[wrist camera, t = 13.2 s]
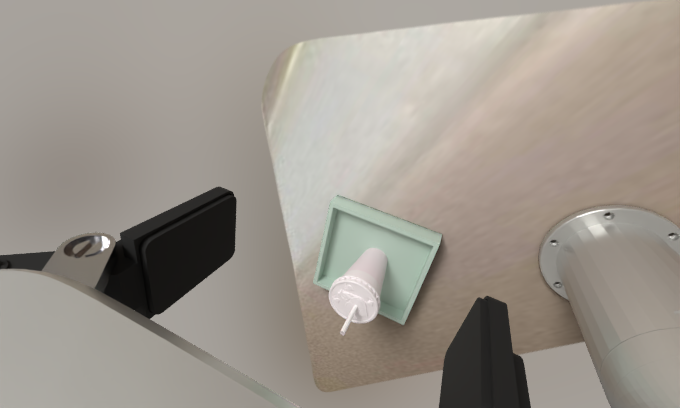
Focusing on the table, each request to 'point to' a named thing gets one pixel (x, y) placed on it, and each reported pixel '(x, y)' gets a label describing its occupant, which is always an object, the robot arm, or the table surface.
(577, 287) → the robot arm
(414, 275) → the tray
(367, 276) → the smoothie
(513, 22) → the table surface
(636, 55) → the table surface
